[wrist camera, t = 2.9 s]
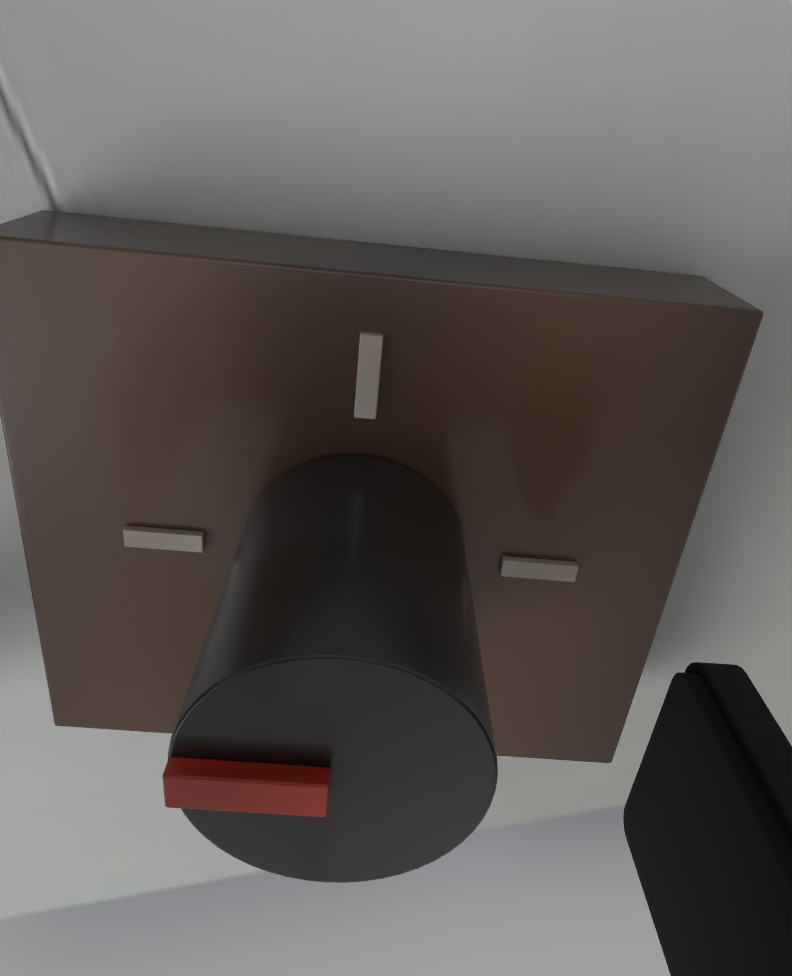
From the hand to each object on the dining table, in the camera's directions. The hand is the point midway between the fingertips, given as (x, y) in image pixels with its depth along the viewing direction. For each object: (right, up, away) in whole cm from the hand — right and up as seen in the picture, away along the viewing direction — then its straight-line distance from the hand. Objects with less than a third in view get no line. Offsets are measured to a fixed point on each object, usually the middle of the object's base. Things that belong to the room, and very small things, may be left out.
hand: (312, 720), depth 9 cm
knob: (0, +2, +4) cm, 4 cm away
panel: (0, +3, +6) cm, 7 cm away
